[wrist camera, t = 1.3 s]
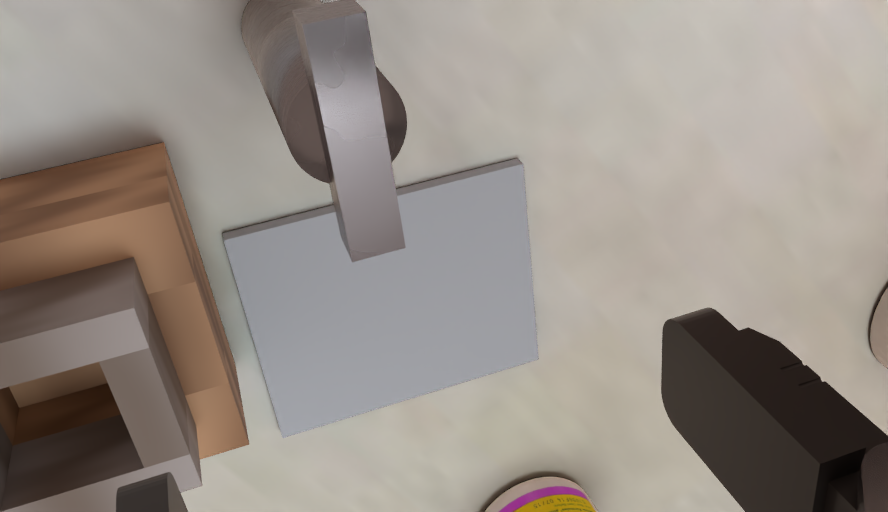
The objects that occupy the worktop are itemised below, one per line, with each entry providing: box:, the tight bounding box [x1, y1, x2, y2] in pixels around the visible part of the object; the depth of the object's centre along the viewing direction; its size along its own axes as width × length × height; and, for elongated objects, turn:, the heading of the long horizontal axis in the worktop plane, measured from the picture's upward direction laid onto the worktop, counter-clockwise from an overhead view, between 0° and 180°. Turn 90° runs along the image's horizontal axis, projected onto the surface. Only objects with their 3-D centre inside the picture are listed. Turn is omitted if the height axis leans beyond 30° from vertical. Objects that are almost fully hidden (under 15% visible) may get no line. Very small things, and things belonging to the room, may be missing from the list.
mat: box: [222, 158, 539, 438], centre depth 35 cm, size 12×10×1 cm
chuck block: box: [0, 142, 249, 512], centre depth 28 cm, size 10×10×8 cm
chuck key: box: [241, 0, 407, 262], centre depth 24 cm, size 3×6×11 cm, turn 7°
